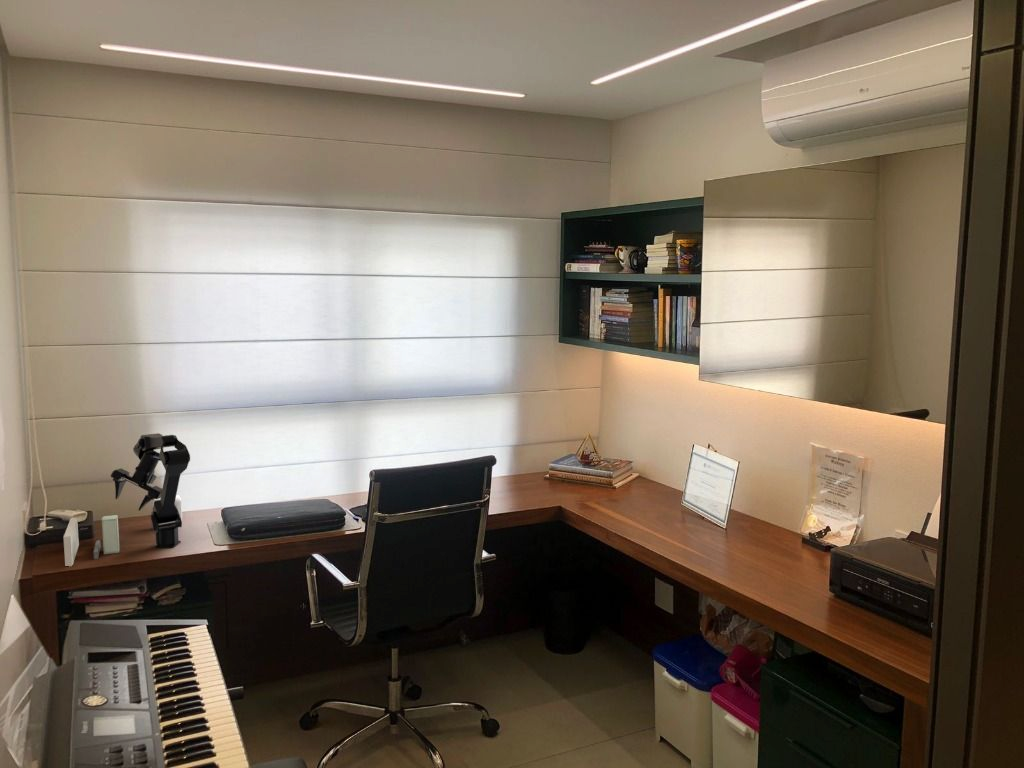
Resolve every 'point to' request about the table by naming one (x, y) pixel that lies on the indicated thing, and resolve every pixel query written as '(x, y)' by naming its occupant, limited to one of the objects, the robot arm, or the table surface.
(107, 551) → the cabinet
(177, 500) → the photo printer
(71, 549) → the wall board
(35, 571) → the table surface
